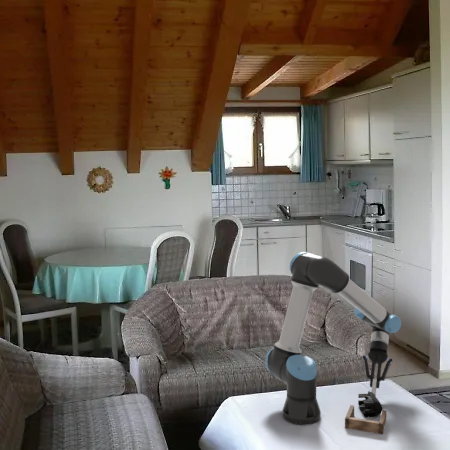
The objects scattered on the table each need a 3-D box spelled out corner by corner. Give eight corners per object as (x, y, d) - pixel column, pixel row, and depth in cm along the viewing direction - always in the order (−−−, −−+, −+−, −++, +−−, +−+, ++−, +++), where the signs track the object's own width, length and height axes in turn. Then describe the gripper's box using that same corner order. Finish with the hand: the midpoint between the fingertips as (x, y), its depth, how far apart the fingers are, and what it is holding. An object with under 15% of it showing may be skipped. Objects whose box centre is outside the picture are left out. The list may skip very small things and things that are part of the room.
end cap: (382, 417, 228) (382, 401, 227) (364, 418, 227) (365, 402, 226) (374, 406, 237) (375, 390, 237) (357, 406, 237) (358, 391, 236)
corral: (344, 428, 219) (345, 418, 219) (350, 414, 230) (350, 405, 230) (382, 434, 214) (382, 424, 214) (386, 420, 225) (386, 410, 225)
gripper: (395, 349, 255) (390, 400, 241) (365, 345, 259) (358, 396, 246) (394, 341, 249) (388, 393, 236) (363, 338, 254) (356, 389, 241)
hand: (373, 394), depth 241 cm, fingers closed
